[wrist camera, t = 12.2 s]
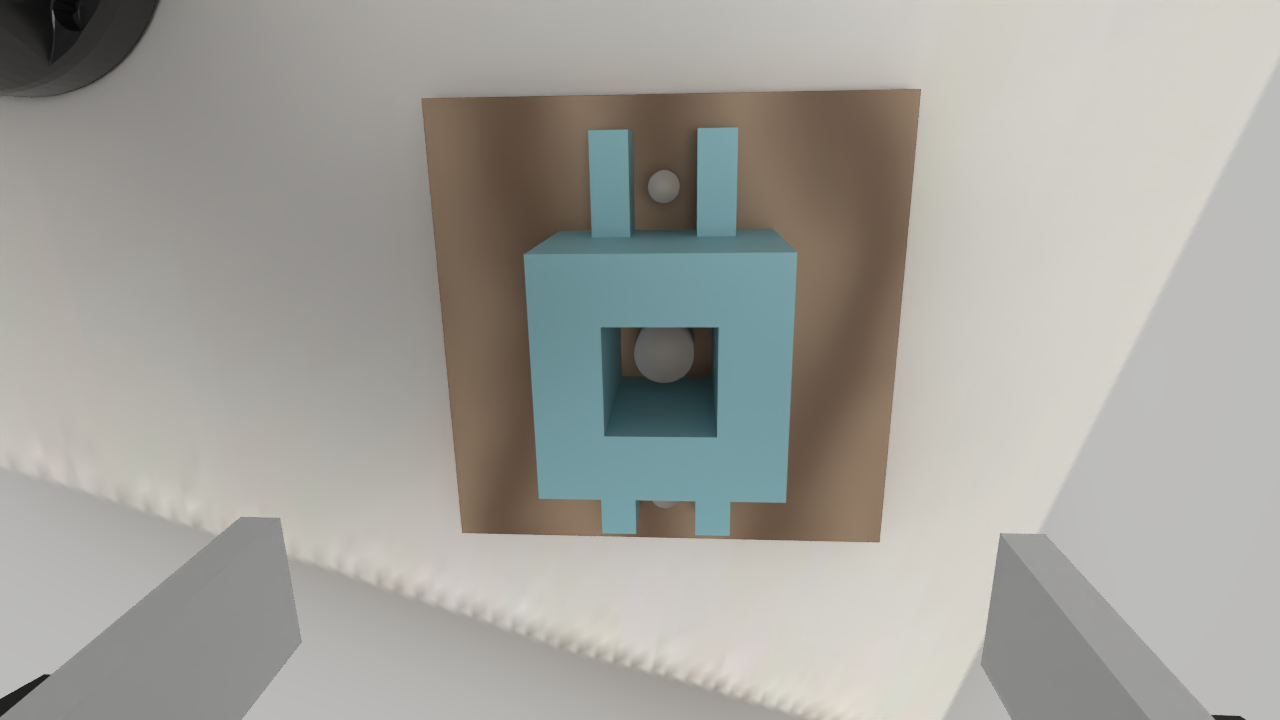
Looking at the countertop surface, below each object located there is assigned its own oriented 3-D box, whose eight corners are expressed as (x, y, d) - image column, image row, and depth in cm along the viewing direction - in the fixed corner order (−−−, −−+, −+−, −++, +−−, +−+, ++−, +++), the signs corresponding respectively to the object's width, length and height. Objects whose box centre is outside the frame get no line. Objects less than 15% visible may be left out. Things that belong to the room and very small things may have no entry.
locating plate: (471, 517, 37) (441, 567, 32) (434, 100, 31) (392, 93, 27) (871, 526, 35) (897, 579, 31) (909, 92, 30) (947, 82, 25)
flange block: (555, 132, 29) (515, 128, 23) (776, 128, 29) (803, 122, 22) (572, 505, 34) (544, 592, 28) (763, 509, 34) (781, 598, 27)
